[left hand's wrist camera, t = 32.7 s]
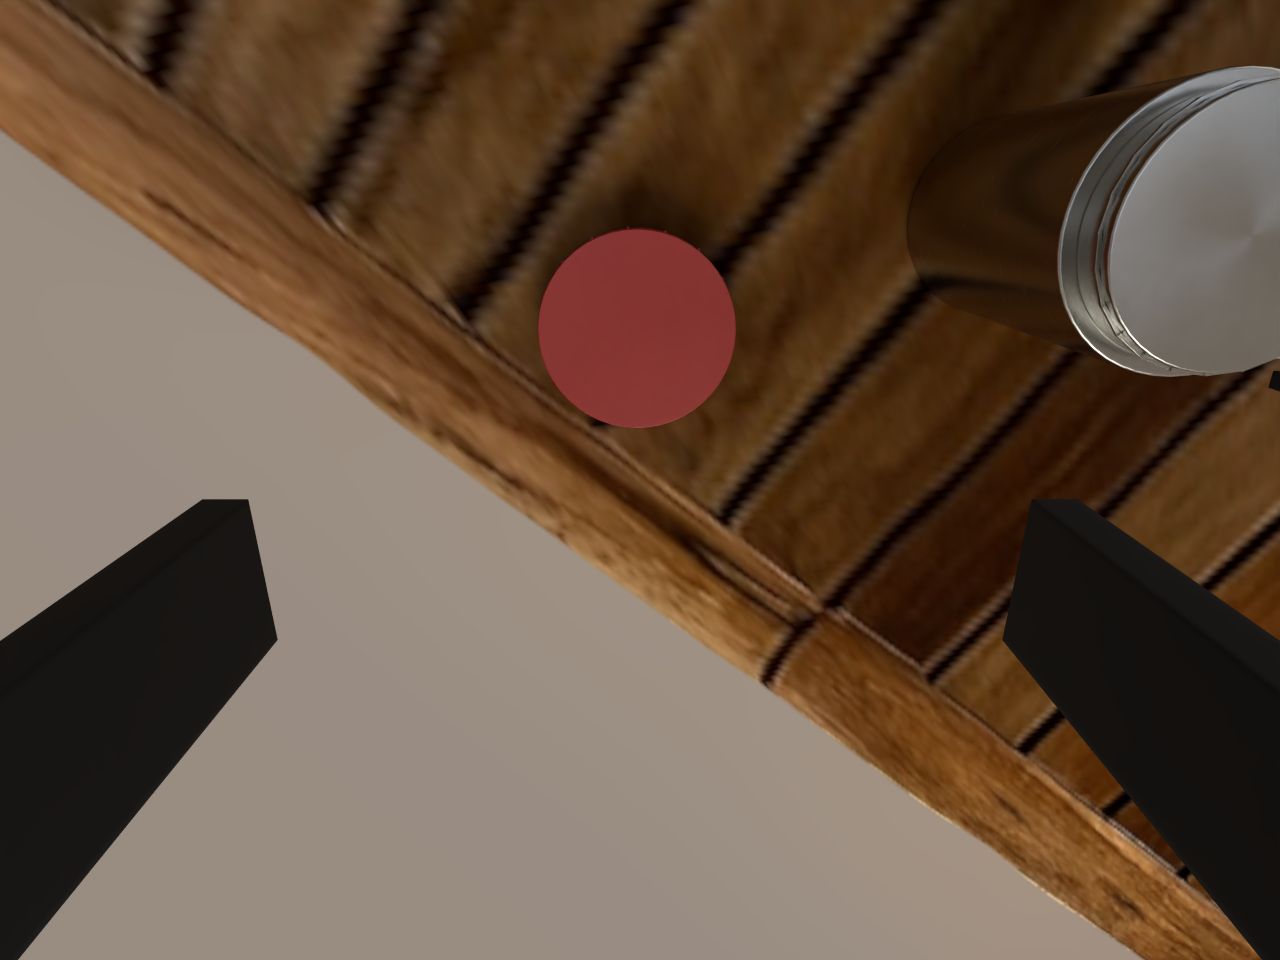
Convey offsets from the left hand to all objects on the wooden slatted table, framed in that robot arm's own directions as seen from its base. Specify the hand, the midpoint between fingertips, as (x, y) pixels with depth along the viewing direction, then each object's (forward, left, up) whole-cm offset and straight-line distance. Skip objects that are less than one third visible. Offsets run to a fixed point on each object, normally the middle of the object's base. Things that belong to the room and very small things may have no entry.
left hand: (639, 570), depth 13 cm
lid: (0, 0, -25) cm, 25 cm away
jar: (-14, +12, -26) cm, 32 cm away
